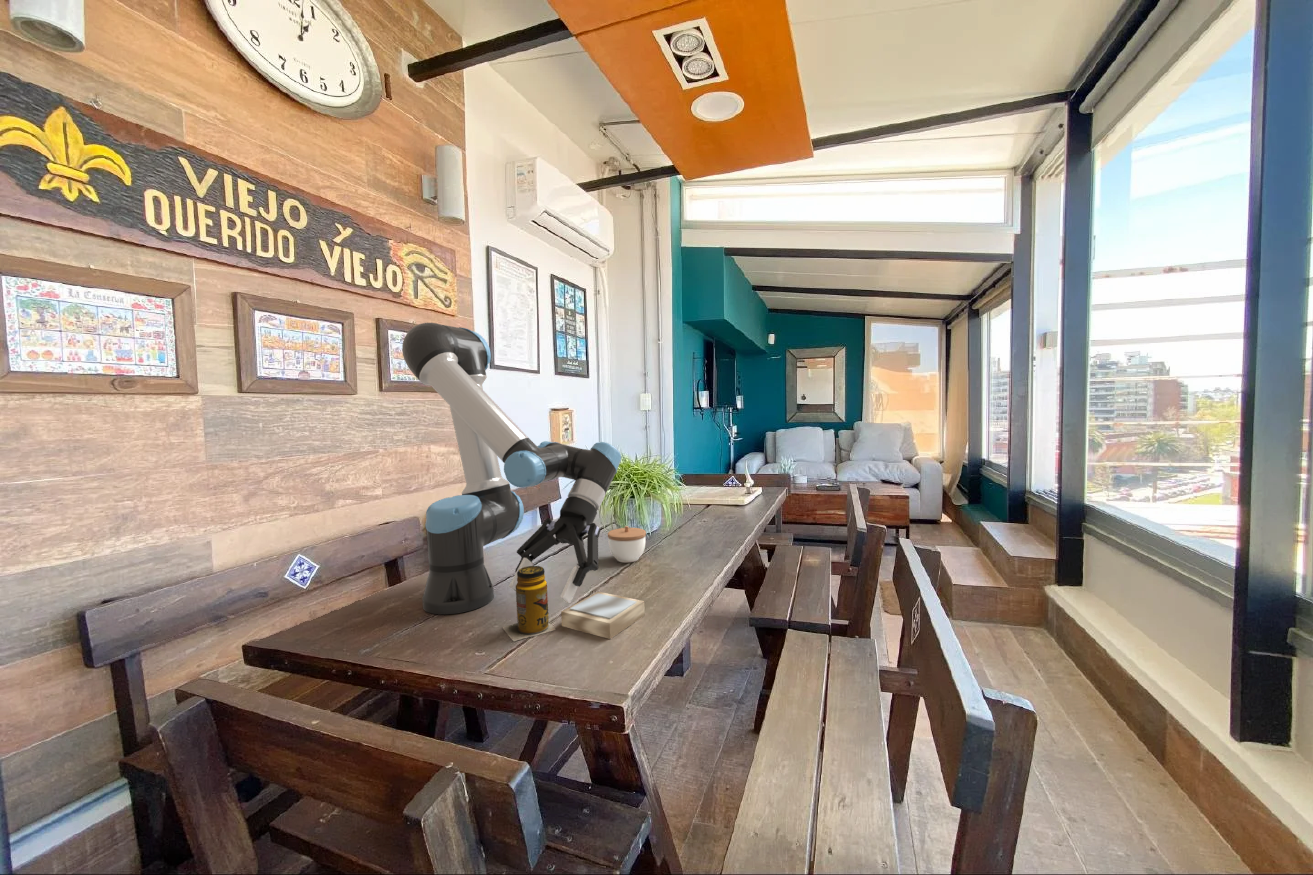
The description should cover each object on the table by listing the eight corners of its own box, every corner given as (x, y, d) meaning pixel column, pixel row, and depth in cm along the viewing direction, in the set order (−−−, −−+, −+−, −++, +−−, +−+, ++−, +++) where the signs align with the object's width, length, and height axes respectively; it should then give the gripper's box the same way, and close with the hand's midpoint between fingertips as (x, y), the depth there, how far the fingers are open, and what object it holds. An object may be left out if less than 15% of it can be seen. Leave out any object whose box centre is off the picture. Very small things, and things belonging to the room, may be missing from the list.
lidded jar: (654, 556, 147) (652, 524, 146) (632, 567, 138) (631, 532, 137) (623, 551, 152) (622, 520, 152) (600, 561, 143) (599, 528, 143)
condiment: (556, 630, 101) (553, 570, 100) (513, 642, 96) (510, 579, 96) (542, 617, 107) (539, 561, 106) (502, 628, 103) (498, 569, 102)
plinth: (561, 626, 103) (561, 610, 102) (598, 604, 113) (598, 590, 113) (610, 638, 96) (609, 621, 96) (645, 615, 107) (644, 599, 106)
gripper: (637, 518, 110) (598, 613, 98) (548, 509, 122) (504, 593, 111) (621, 498, 105) (578, 596, 93) (531, 491, 117) (483, 577, 106)
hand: (538, 594), depth 102 cm, fingers open, 13 cm apart
